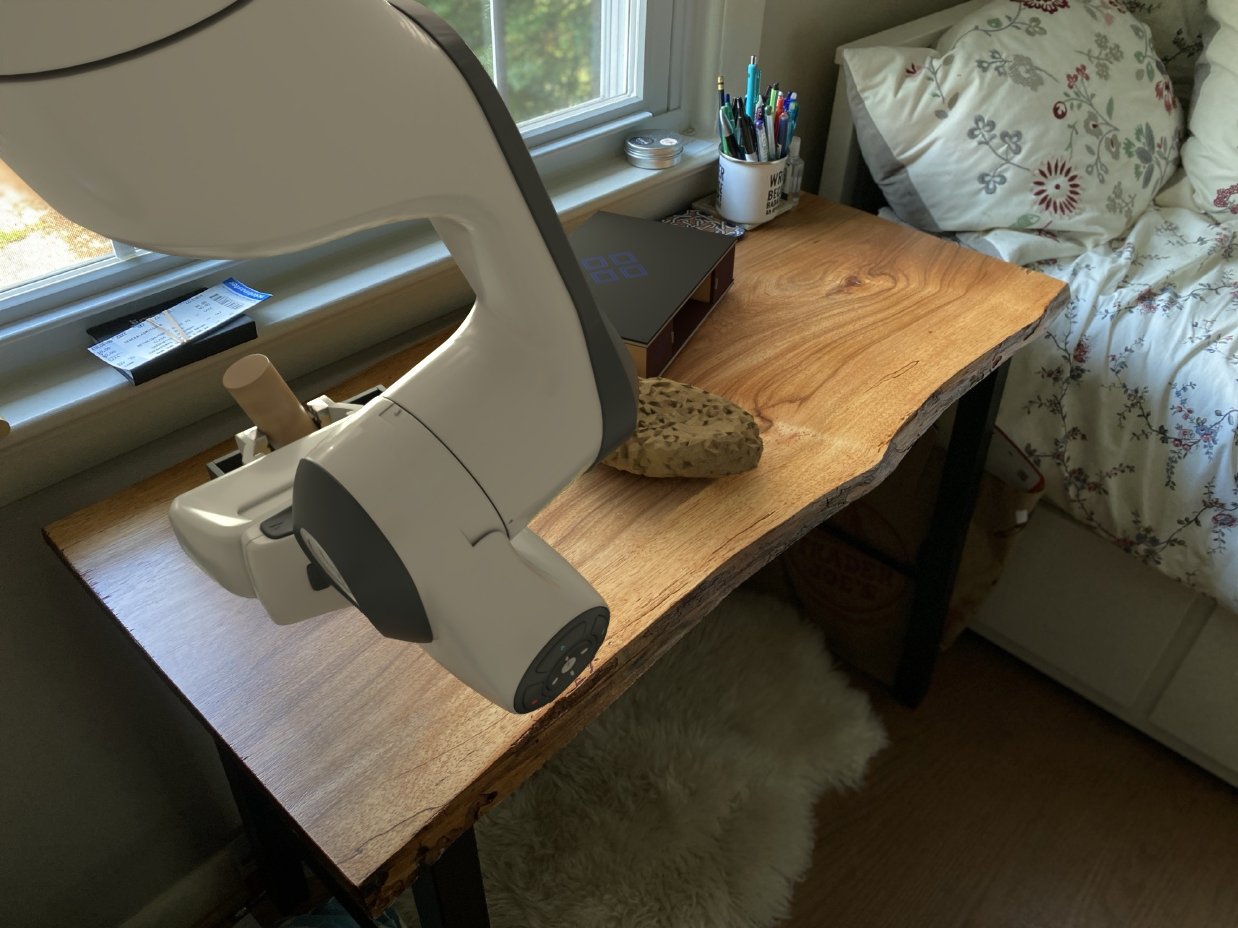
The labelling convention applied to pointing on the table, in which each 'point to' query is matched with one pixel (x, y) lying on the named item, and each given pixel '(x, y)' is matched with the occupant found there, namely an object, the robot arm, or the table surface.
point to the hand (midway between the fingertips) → (281, 423)
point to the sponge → (688, 434)
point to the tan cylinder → (268, 400)
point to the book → (653, 281)
